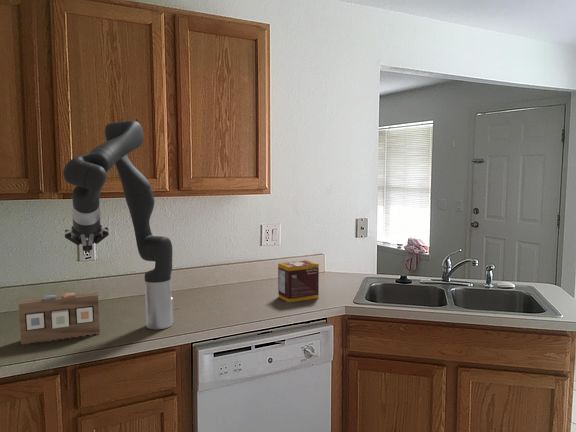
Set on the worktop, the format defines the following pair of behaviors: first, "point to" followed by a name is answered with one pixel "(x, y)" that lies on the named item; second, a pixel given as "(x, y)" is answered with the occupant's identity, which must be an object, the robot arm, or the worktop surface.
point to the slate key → (35, 320)
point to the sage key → (60, 318)
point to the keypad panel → (58, 303)
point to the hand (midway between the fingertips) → (87, 249)
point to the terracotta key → (84, 314)
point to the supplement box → (298, 281)
